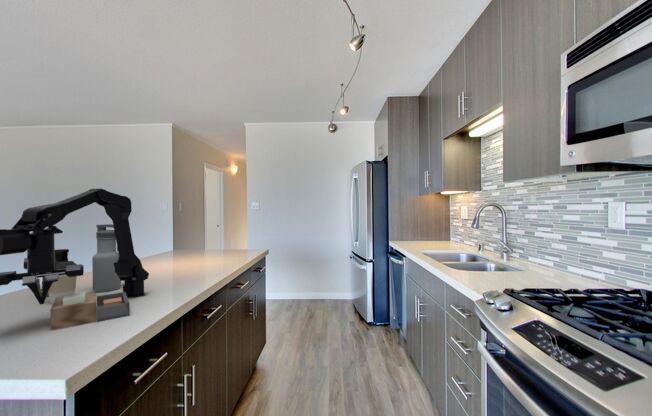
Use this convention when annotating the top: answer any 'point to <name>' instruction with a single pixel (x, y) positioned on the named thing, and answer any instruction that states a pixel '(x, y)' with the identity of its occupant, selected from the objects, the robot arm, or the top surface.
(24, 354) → the top surface
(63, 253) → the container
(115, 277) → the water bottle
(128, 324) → the top surface
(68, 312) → the block
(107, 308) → the box
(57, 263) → the coffee cup
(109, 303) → the terracotta tile
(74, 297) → the sage tile
